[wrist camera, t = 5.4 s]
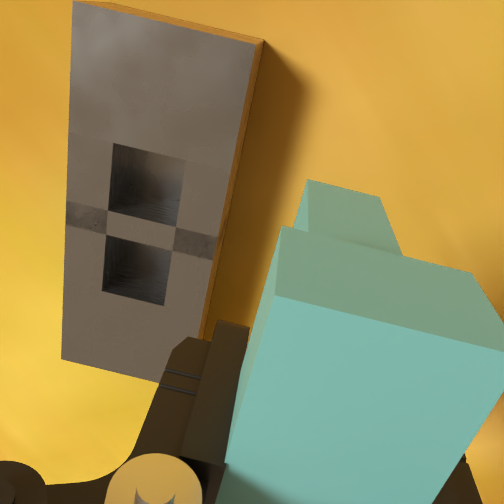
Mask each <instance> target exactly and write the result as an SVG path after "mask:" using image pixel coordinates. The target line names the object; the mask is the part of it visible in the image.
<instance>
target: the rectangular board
mask: <svg viewBox="0 0 504 504" xmlns="http://www.w3.org/2000/svg"><path fill="white" fill-rule="evenodd" d="M263 44H264V40H263V39H259V38H255V37H251V36H246V35H242V34H238V33H234V32H230V31H226V30H221V29H217V28H213V27H209V26H205V25H201V24H197V23H192V22H188V21H184V20H180V19H176V18H172V17H168V16H163V15H159V14H155V13H151V12H147V11H143V10H138V9H134V8H130V7H126V6H122V5H118V4H114V3H109V2H94V1H75V0H73V9H72V40H71V71H70V102H69V133H68V164H67V195H66V226H65V257H64V288H63V319H62V350H61V359H63V360H67V361H71V362H75V363H79V364H83V365H87V366H92V367H96V368H100V369H104V370H108V371H112V372H116V373H120V374H124V375H128V376H132V377H137V378H141V379H145V380H149V381H153V382H157V383H160V380H161V377H162V375H163V372H164V371H165V367H166V365H167V362H168V359H169V357H170V354H171V352H172V349H174V348H175V347H176V346H177V345H178V344H180V343H181V342H182V341H183V340H184V339H185V338H187V337H188V336H189V337H193V338H197V339H201V340H203V336H204V331H205V326H206V321H207V316H208V311H209V306H210V302H211V297H212V292H213V287H214V282H215V277H216V272H217V268H218V263H219V258H220V253H221V248H222V243H223V238H224V234H225V229H226V224H227V219H228V214H229V209H230V204H231V200H232V195H233V190H234V185H235V180H236V175H237V170H238V166H239V161H240V156H241V151H242V146H243V141H244V136H245V132H246V127H247V122H248V117H249V112H250V107H251V102H252V98H253V93H254V88H255V83H256V78H257V73H258V68H259V63H260V59H261V54H262V49H263Z"/></svg>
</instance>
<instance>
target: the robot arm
mask: <svg viewBox="0 0 504 504" xmlns="http://www.w3.org/2000/svg"><path fill="white" fill-rule="evenodd" d="M249 330H250V327H247V326H243V325H239V324H235V323H231V322H227V321H223V320H219V319H218V320H217V323H216V327H215V331H214V334H213V338H212V341H211V342H209V341H205V340H201V339H197V338H193V337H189V336H188V337H187V338H185V339H184V340H183V341H182V342H181V343H180V344H178V345H177V346H176V347H175V348H174V349H172V352H171V354H170V357H169V359H168V362H167V365H166V367H165V371H164V372H163V375H162V377H161V380H160V383H159V386H158V388H157V390H156V393H155V395H154V398H153V401H152V403H151V406H150V408H149V411H148V413H147V416H146V419H145V421H144V424H143V426H142V429H141V431H140V434H139V436H138V439H137V442H136V444H135V447H134V449H133V451H132V453H131V454H130V456H129V457H128V459H127V460H126V461H125V462H124V463H123V464H122V465H121V466H120V467H119V468H117V469H116V470H115V471H113V472H111V473H110V474H108V475H106V476H103V477H101V478H99V479H95V480H92V481H87V482H80V483H67V484H54V485H45V482H44V480H43V479H42V477H41V475H40V474H39V473H38V472H37V471H36V470H34V469H33V468H31V467H30V466H28V465H25V464H23V463H19V462H15V461H0V504H215V502H216V498H217V495H218V492H219V488H220V485H221V482H222V478H223V475H224V472H225V469H226V464H227V463H224V462H225V456H226V451H227V445H228V440H229V434H230V428H231V423H232V417H233V411H234V406H235V400H236V394H237V389H238V383H239V378H240V372H241V367H242V364H243V360H244V357H245V353H246V348H247V342H248V336H249ZM432 504H483V503H482V501H481V498H480V495H479V492H478V490H477V487H476V484H475V481H474V478H473V476H472V473H471V470H470V467H469V465H468V463H466V456H465V453H464V454H463V456H462V457H461V459H460V460H459V462H458V463H457V465H456V467H455V468H454V470H453V471H452V473H451V474H450V476H449V477H448V479H447V481H446V482H445V484H444V485H443V487H442V488H441V490H440V492H439V493H438V495H437V496H436V498H435V499H434V501H433V502H432Z"/></svg>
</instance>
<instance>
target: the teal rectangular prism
mask: <svg viewBox="0 0 504 504" xmlns="http://www.w3.org/2000/svg"><path fill="white" fill-rule="evenodd" d="M503 392H504V323H503V322H502V320H501V318H500V317H499V315H498V314H497V312H496V311H495V309H494V307H493V306H492V304H491V303H490V301H489V300H488V298H487V296H486V295H485V293H484V292H483V290H482V289H481V287H480V285H479V284H478V282H477V281H476V279H475V278H474V276H473V274H472V273H469V272H465V271H461V270H457V269H453V268H449V267H445V266H441V265H437V264H433V263H429V262H425V261H421V260H417V259H413V258H409V257H405V256H403V255H402V252H401V250H400V247H399V245H398V242H397V240H396V237H395V235H394V232H393V230H392V227H391V225H390V222H389V220H388V217H387V215H386V212H385V210H384V207H383V205H382V202H381V200H380V197H376V196H372V195H369V194H365V193H361V192H357V191H353V190H349V189H345V188H341V187H337V186H333V185H329V184H325V183H321V182H317V181H313V180H309V179H307V182H306V186H305V189H304V193H303V196H302V199H301V203H300V206H299V209H298V213H297V216H296V220H295V223H294V226H293V228H290V227H286V226H282V227H281V230H280V234H279V237H278V241H277V244H276V248H275V251H274V255H273V258H272V262H271V265H270V269H269V272H268V276H267V279H266V283H265V286H264V290H263V293H262V297H261V301H260V304H259V308H258V311H257V315H256V318H255V322H254V325H253V329H252V332H251V336H250V339H249V343H248V346H247V350H246V353H245V357H244V360H243V364H242V367H241V372H240V378H239V383H238V389H237V394H236V400H235V406H234V411H233V417H232V423H231V428H230V434H229V440H228V445H227V451H226V456H225V462H224V463H227V464H226V469H225V472H224V475H223V478H222V482H221V485H220V488H219V492H218V495H217V498H216V502H215V504H432V502H433V501H434V499H435V498H436V496H437V495H438V493H439V492H440V490H441V488H442V487H443V485H444V484H445V482H446V481H447V479H448V477H449V476H450V474H451V473H452V471H453V470H454V468H455V467H456V465H457V463H458V462H459V460H460V459H461V457H462V456H463V454H464V453H465V451H466V449H467V448H468V446H469V445H470V443H471V442H472V440H473V438H474V437H475V435H476V434H477V432H478V431H479V429H480V428H481V426H482V424H483V423H484V421H485V420H486V418H487V417H488V415H489V414H490V412H491V410H492V409H493V407H494V406H495V404H496V403H497V401H498V399H499V398H500V396H501V395H502V393H503Z"/></svg>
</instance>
